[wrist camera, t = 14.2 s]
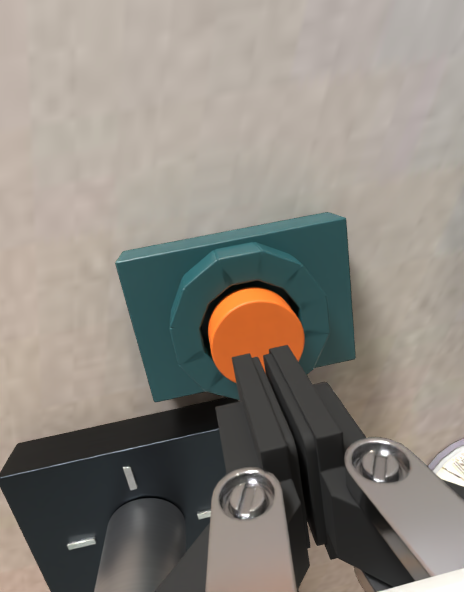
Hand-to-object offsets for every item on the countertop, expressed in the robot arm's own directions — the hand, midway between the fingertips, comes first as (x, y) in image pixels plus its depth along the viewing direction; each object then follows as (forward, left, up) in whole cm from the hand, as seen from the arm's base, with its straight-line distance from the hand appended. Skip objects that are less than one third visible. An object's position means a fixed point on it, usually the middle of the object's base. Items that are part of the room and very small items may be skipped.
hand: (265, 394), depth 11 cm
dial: (-7, -11, -6) cm, 14 cm away
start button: (0, 0, -5) cm, 5 cm away
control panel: (-7, -11, -9) cm, 15 cm away
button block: (0, 0, -9) cm, 9 cm away
